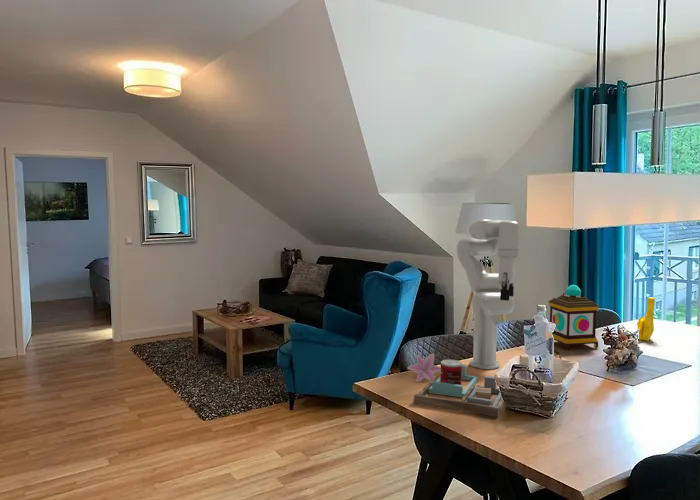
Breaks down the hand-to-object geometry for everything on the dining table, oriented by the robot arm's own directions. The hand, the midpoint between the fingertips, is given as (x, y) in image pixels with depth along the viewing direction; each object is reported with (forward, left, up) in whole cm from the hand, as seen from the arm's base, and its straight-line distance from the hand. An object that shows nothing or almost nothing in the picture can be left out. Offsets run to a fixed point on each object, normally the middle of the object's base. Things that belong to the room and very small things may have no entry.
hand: (506, 298), depth 216 cm
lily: (+9, -30, -34) cm, 46 cm away
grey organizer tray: (+23, -3, -33) cm, 40 cm away
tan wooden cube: (+26, -3, -33) cm, 42 cm away
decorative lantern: (-71, +20, -34) cm, 81 cm away
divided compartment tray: (+25, -11, -33) cm, 43 cm away
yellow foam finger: (-98, +53, -34) cm, 117 cm away
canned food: (+18, -17, -34) cm, 42 cm away
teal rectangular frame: (+12, -17, -33) cm, 39 cm away
